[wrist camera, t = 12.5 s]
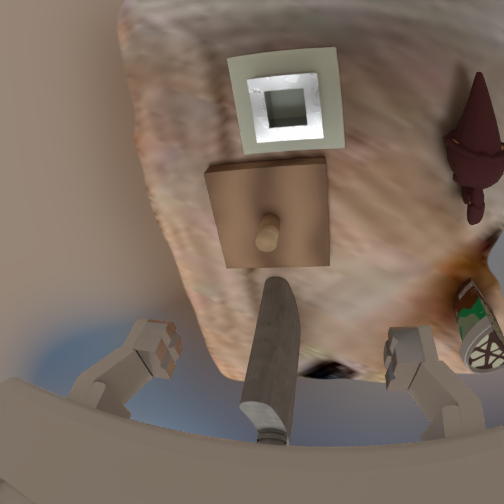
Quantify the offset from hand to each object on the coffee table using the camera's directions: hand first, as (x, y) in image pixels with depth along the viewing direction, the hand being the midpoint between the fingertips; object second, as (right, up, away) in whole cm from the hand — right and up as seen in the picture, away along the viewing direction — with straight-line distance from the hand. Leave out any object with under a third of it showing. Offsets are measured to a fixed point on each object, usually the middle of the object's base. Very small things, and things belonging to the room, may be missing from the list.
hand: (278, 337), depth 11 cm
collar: (+2, +17, +15) cm, 23 cm away
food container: (+30, -5, +26) cm, 40 cm away
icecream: (+21, +15, +14) cm, 29 cm away
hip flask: (+4, -6, +33) cm, 34 cm away
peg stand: (+1, +7, +23) cm, 24 cm away
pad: (+2, +17, +16) cm, 24 cm away
